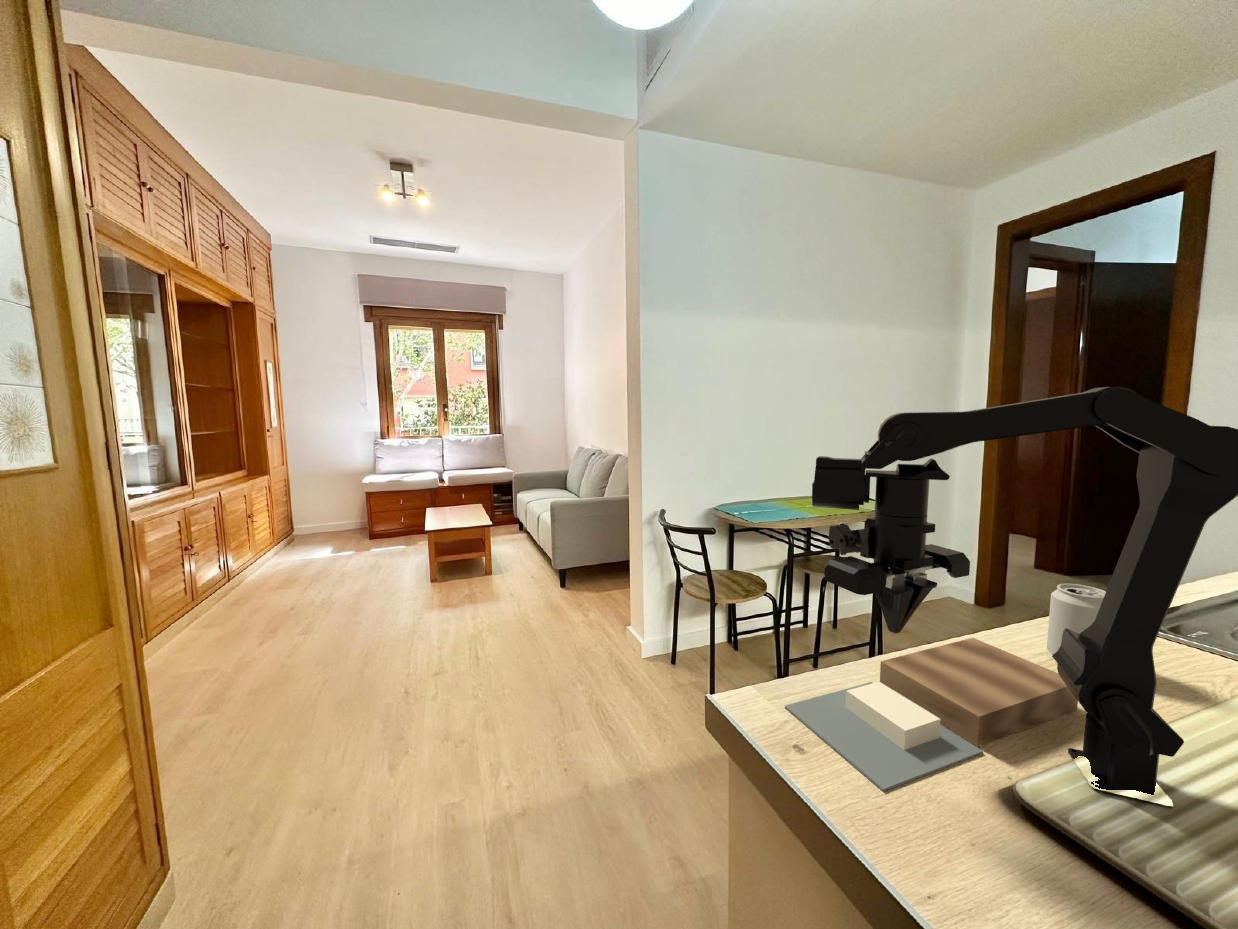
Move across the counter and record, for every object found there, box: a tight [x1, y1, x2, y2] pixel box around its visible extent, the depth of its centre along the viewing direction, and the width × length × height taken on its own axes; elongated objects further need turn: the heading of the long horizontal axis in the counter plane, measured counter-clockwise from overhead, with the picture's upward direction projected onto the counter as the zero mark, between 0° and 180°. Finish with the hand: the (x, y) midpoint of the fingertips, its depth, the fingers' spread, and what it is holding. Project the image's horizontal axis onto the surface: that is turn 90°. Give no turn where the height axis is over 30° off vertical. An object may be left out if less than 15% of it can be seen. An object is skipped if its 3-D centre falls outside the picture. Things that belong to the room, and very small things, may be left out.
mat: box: [784, 681, 984, 792], centre depth 62 cm, size 16×16×1 cm
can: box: [1046, 583, 1107, 656], centre depth 78 cm, size 8×8×12 cm
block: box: [879, 637, 1079, 748], centre depth 68 cm, size 20×14×4 cm
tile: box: [846, 681, 941, 750], centre depth 63 cm, size 6×9×2 cm, turn 20°
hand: (894, 631), depth 62 cm, fingers closed
